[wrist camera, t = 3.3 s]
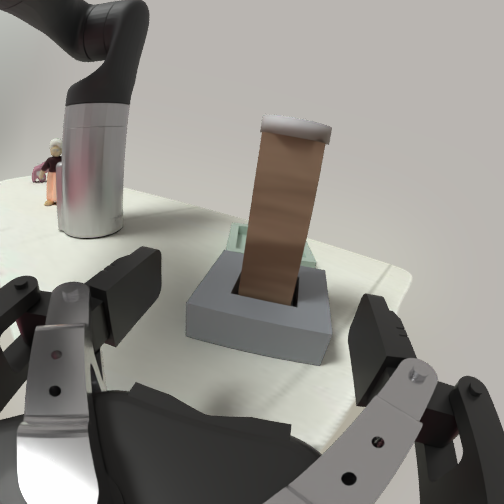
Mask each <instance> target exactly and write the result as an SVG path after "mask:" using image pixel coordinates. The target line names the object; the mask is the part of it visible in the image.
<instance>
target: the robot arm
mask: <svg viewBox="0 0 504 504" xmlns="http://www.w3.org/2000/svg"><path fill="white" fill-rule="evenodd" d="M0 10H3V11H5V12H8V13H10V14H12V15H14V16H16V17H18V18H20V19H21V20H23V21H25V22H26V23H28V24H29V25H31V26H33V27H34V28H36V29H38V30H40V31H41V32H43V33H44V34H46V35H47V36H48V37H50V38H51V39H52V40H53V41H54V42H55V43H56V44H57V45H59V46H60V47H61V48H62V49H63V50H64V51H65V52H67V53H68V54H69V55H70V56H72V57H73V58H75V59H76V60H79V61H82V62H94V61H102V60H105V61H104V63H103V64H102V65H101V66H100V67H99V68H98V69H97V70H96V71H95V72H93V73H92V74H91V75H89V76H88V77H86V78H84V79H82V80H80V81H79V82H77V83H75V84H73V85H72V86H71V87H70V88H69V90H68V93H67V98H66V107H65V115H64V126H63V140H62V162H59V163H57V165H56V198H57V216H58V228H59V230H62V231H64V232H65V233H66V234H68V235H70V236H73V237H79V238H93V237H101V236H106V235H109V234H112V233H114V232H117V231H118V230H120V229H121V228H122V226H123V177H124V158H125V145H126V133H127V123H128V115H129V105H130V100H131V94H132V91H133V87H134V84H135V79H136V74H137V69H138V65H139V60H140V57H141V53H142V50H143V46H144V43H145V39H146V35H147V31H148V26H149V10H148V7H147V5H146V3H145V2H144V1H142V0H122V1H115V2H108V3H103V4H97V5H92V4H88V3H87V2H85V1H84V0H0ZM160 291H161V252H160V250H157V249H153V248H148V247H144V246H142V247H140V248H139V249H137V250H136V251H134V252H133V253H132V254H130V255H127V256H124V257H122V258H119V259H117V260H116V261H114V262H113V263H111V264H110V266H107V267H106V268H105V269H104V270H102V271H100V272H99V273H98V274H96V275H95V276H94V277H92V278H91V279H90V280H88V281H87V282H86V283H84V284H83V283H80V282H68V283H64V284H61V285H59V286H58V287H56V288H55V289H54V290H53V292H46V291H40V290H39V286H38V281H37V279H36V278H35V277H32V276H21V277H18V278H15V279H13V280H12V281H10V282H9V283H7V284H6V285H5V286H3V287H2V288H0V336H1V334H2V333H3V332H4V331H5V330H6V329H7V328H8V327H9V326H10V325H12V324H13V323H14V322H15V321H16V323H17V325H18V328H19V331H20V333H21V335H20V336H19V337H18V338H17V339H16V340H15V341H14V342H13V343H12V344H11V345H10V346H9V347H8V348H7V349H6V350H5V351H4V352H3V351H2V349H1V347H0V412H1V411H2V410H3V408H4V407H5V406H6V404H7V403H8V402H9V401H10V399H11V398H12V397H13V396H14V394H15V393H16V392H17V391H18V389H19V388H20V387H21V386H22V384H23V383H24V382H25V381H26V380H27V385H26V397H25V413H24V414H23V415H18V416H15V417H11V418H6V419H2V420H0V504H374V503H375V502H376V500H377V499H378V498H379V496H380V495H381V493H382V492H383V491H384V489H385V488H386V486H387V485H388V484H389V482H390V480H391V479H392V478H393V476H394V475H395V473H396V472H397V470H398V468H399V467H400V465H401V464H402V462H403V460H404V459H405V457H406V455H407V454H408V452H409V450H410V449H411V447H412V445H413V443H414V442H415V448H416V457H417V466H418V476H419V491H420V504H504V431H503V428H502V426H501V423H500V420H499V418H498V415H497V412H496V410H495V407H494V404H493V402H492V400H491V397H490V395H489V393H488V391H487V389H486V387H485V385H484V384H483V383H482V382H480V381H479V380H478V379H476V378H474V377H471V376H464V377H462V378H461V379H460V380H459V381H458V383H457V384H456V385H455V386H451V385H448V384H445V383H442V382H439V381H438V378H437V374H436V372H435V371H434V369H433V368H432V367H431V366H430V365H429V364H428V363H426V362H424V361H422V360H420V359H417V357H416V355H415V352H414V350H413V347H412V345H411V342H410V340H409V338H408V337H407V333H406V331H405V330H404V326H403V324H402V321H401V319H400V318H399V317H398V316H397V315H396V314H395V313H394V312H393V311H389V308H388V306H387V304H386V301H385V299H384V297H382V296H376V295H371V294H364V295H363V296H362V298H361V301H360V304H359V306H358V309H357V311H356V314H355V317H354V319H353V322H352V324H351V327H350V330H349V335H348V344H349V351H350V358H351V365H352V372H353V380H354V388H355V397H356V406H362V407H366V408H365V409H364V410H363V411H362V413H361V414H360V415H359V416H358V417H357V418H356V419H355V421H354V422H353V423H352V424H351V425H350V426H349V427H348V428H347V430H346V431H345V432H344V433H343V434H342V435H341V436H340V437H339V438H338V439H337V440H336V441H335V442H334V443H333V444H332V446H330V447H329V448H328V449H327V450H326V451H325V452H324V453H323V454H320V453H319V452H318V451H317V450H316V449H314V448H313V447H312V446H310V445H308V444H307V443H305V442H303V441H301V440H299V439H297V438H295V437H293V436H290V433H291V424H285V423H279V422H274V421H268V420H263V419H258V418H253V417H225V416H210V415H205V414H203V413H201V412H199V411H197V410H196V409H194V408H192V407H190V406H188V405H187V404H185V403H183V402H181V401H180V400H178V399H176V398H175V397H173V396H171V395H169V394H166V393H163V392H160V391H158V390H155V389H152V388H150V387H147V386H144V385H142V384H139V383H137V382H135V384H134V386H133V387H132V389H131V390H130V392H129V391H119V390H111V391H107V389H106V382H105V374H104V366H103V356H102V350H101V346H102V345H103V343H106V344H109V345H111V346H114V347H116V346H117V345H118V344H119V343H120V342H121V340H122V339H123V338H124V337H125V336H126V334H127V333H128V332H129V331H130V330H131V329H132V327H133V326H134V325H135V324H136V323H137V322H138V320H139V319H140V318H141V317H142V316H143V315H144V313H145V312H146V311H147V310H148V309H149V308H150V307H151V305H152V304H153V303H154V302H155V301H156V300H157V298H158V297H159V294H160ZM458 434H459V435H460V439H461V443H462V447H463V456H462V459H461V461H460V462H459V464H458V463H457V458H456V453H455V448H454V443H453V439H455V437H457V435H458Z"/></svg>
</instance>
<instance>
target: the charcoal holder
mask: <svg viewBox="0 0 504 504" xmlns="http://www.w3.org/2000/svg"><path fill="white" fill-rule="evenodd" d="M243 257H244V254H242V253H237V252H232V251H228V250H224V251H223V252H222V254H221V255H220V256H219V258H218V259H217V261H216V262H215V263H214V265H213V266H212V268H211V269H210V270H209V272H208V273H207V274H206V276H205V277H204V279H203V280H202V281H201V283H200V284H199V286H198V287H197V288H196V290H195V291H194V293H193V294H192V295H191V297H190V298H189V300H188V301H187V302H186V336H188V337H191V338H195V339H198V340H202V341H206V342H210V343H213V344H217V345H221V346H225V347H229V348H233V349H238V350H242V351H246V352H251V353H255V354H260V355H265V356H269V357H274V358H279V359H284V360H290V361H295V362H301V363H307V364H313V365H319V366H320V364H321V362H322V359H323V357H324V354H325V352H326V349H327V347H328V344H329V342H330V339H331V337H332V325H331V315H330V306H329V298H328V290H327V282H326V274H325V270H320V269H315V268H311V267H306V266H301V265H300V269H299V273H298V277H297V281H296V285H295V289H294V293H293V297H292V301H291V305H290V306H288V305H283V304H278V303H273V302H268V301H263V300H259V299H254V298H249V297H245V296H240V295H238V292H239V285H240V278H241V271H242V264H243Z"/></svg>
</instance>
